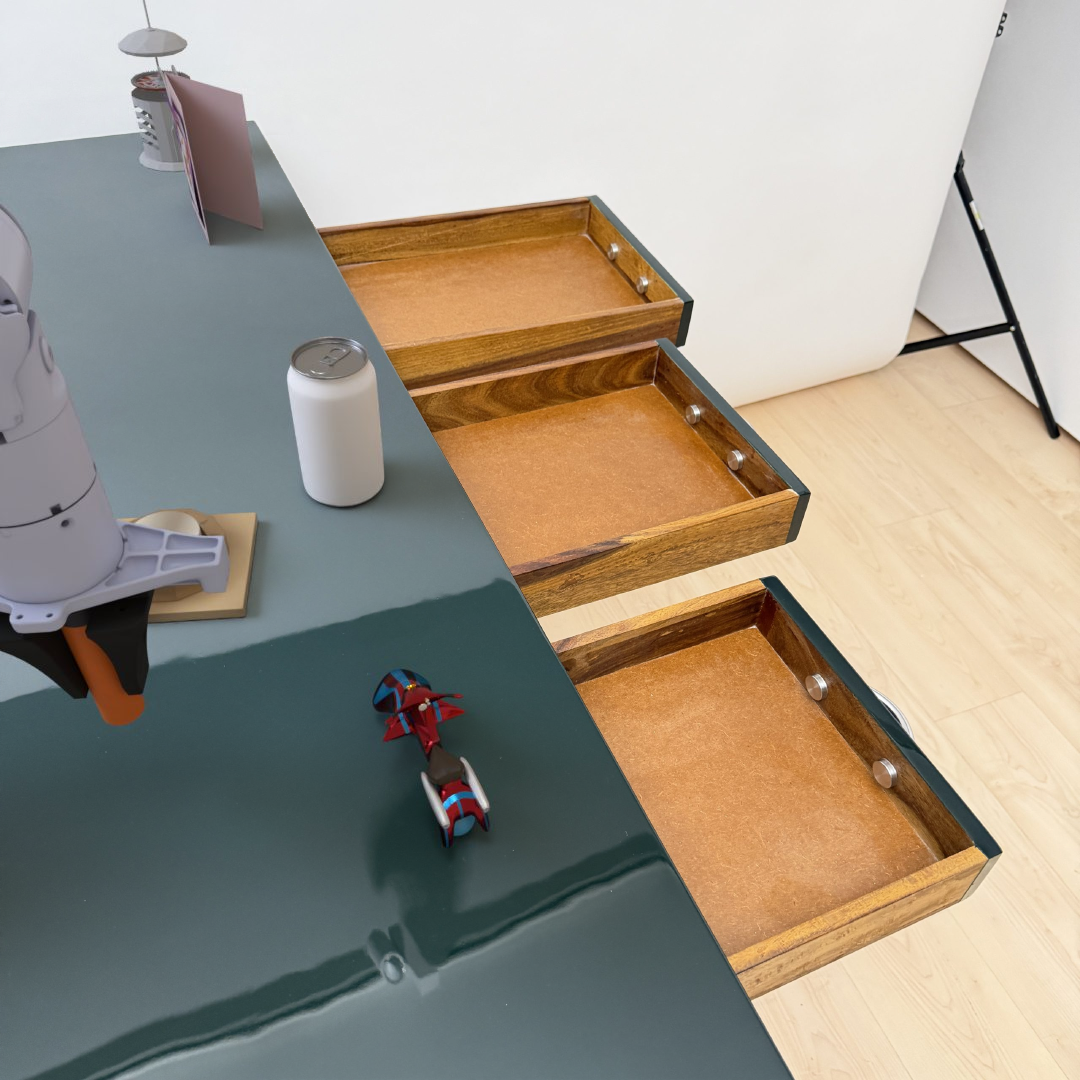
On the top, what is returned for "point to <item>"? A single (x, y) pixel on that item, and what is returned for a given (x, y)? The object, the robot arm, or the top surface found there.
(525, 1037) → the top surface
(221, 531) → the button housing
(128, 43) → the french press
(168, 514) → the circle pad
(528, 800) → the top surface
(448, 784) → the hoverbike
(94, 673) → the marker
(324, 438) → the can
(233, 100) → the greeting card
